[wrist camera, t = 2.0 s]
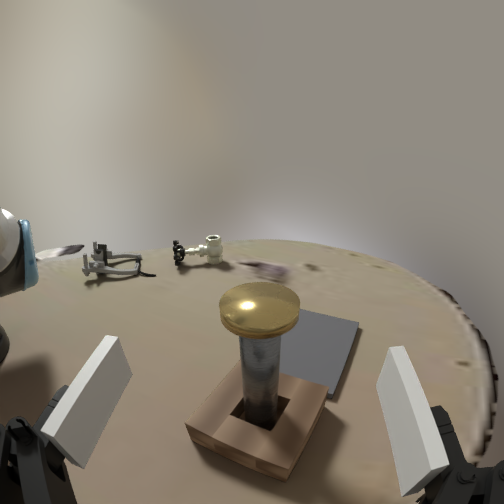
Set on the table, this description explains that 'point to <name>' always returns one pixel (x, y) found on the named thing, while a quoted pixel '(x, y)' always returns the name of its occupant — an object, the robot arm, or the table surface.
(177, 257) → the valve
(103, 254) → the bike brake
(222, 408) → the eye block
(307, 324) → the mat
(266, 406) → the brass topped pillar
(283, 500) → the table surface
